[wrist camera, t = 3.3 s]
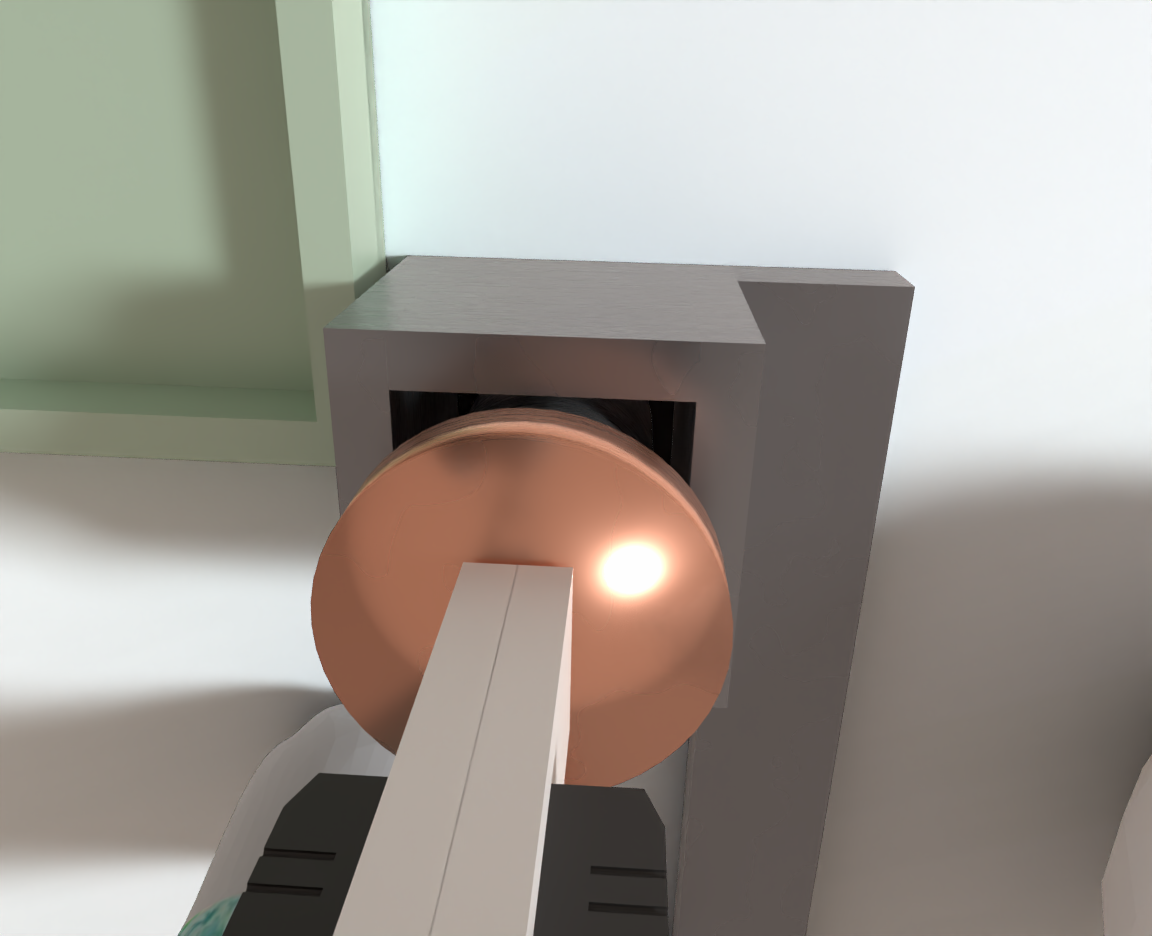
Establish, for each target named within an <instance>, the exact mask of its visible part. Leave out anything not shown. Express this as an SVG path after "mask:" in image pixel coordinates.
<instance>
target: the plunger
mask: <svg viewBox="0 0 1152 936" xmlns="http://www.w3.org/2000/svg"><path fill="white" fill-rule="evenodd" d="M463 562H470V563H491V564H511V565H532V566H553V567H573V594H572V640H571V686H570V730H569V740H568V750H567V759H566V769H565V779H564V784H568V785H585V786H602V787H611V786H615V785H618V784H620V783H622V782H625V781H627V780H629V779H631V778H634V777H636V776H638V775H640V774H642V773H644V772H645V771H647V770H649V769H650V768H652V767H654V766H655V765H657V764H659V763H660V762H662V761H663V760H664V759H666V758H667V757H668V756H669V755H671V754H672V753H673V752H674V751H676V750H677V749H678V748H680V747H681V746H682V745H683V744H684V742H685V741H686V740H687V739H688V738H689V737H690V736H691V735H692V734H693V733H694V732H695V731H696V730H697V729H698V727H699V726H700V725H701V723H702V722H703V720H704V719H705V718H706V716H707V715H708V714H709V712H710V711H711V709H712V707H713V705H714V703H715V701H716V699H717V697H718V696H719V694H720V692H721V689H722V686H723V683H724V680H725V678H726V675H727V672H728V669H729V663H730V658H731V652H732V647H733V618H732V610H731V602H730V596H729V590H728V584H727V578H726V573H725V567H724V561H723V556H722V552H721V549H720V545H719V542H718V538H717V535H716V532H715V530H714V528H713V526H712V523H711V521H710V519H709V517H708V515H707V512H706V511H705V509H704V507H703V506H702V504H701V503H700V501H699V500H698V498H697V497H696V495H695V493H694V492H693V490H692V489H691V488H690V487H689V486H688V485H687V483H686V482H685V481H684V480H683V479H682V478H681V476H680V475H679V474H678V473H677V472H676V471H675V470H674V469H673V468H672V467H671V466H670V465H668V464H667V463H666V462H665V461H664V460H663V459H662V458H661V457H659V456H658V455H657V454H656V453H654V449H653V425H652V414H651V408H650V405H649V402H648V400H630V399H605V398H579V397H554V396H528V395H503V394H478V395H477V397H476V399H475V401H474V403H473V405H472V407H471V409H470V412H469V414H467V415H463V416H460V417H456V418H453V419H449V420H447V421H444V422H442V423H440V424H437V425H435V426H433V427H430V428H428V429H426V430H424V431H422V432H420V433H419V434H417V435H416V436H414V437H412V438H411V439H409V440H407V441H406V442H404V443H402V444H401V445H400V446H399V447H398V448H396V449H395V450H394V451H393V452H391V453H390V454H389V455H388V456H387V457H385V458H384V459H383V460H382V461H381V462H380V463H379V465H378V466H377V467H376V468H375V469H374V470H373V471H372V472H371V473H370V474H369V476H368V477H367V478H366V480H365V481H364V483H363V484H362V486H361V487H360V489H359V490H358V492H357V493H356V495H355V496H354V498H353V499H352V501H351V502H350V504H349V505H348V507H347V508H346V510H345V512H344V513H343V515H342V516H341V518H340V519H339V521H338V522H337V524H336V525H335V527H334V529H333V530H332V532H331V533H330V535H329V537H328V539H327V542H326V544H325V546H324V548H323V550H322V552H321V555H320V557H319V561H318V565H317V568H316V572H315V575H314V579H313V587H312V596H311V621H312V630H313V635H314V640H315V646H316V650H317V652H318V655H319V658H320V661H321V664H322V667H323V670H324V672H325V674H326V676H327V678H328V680H329V682H330V684H331V686H332V688H333V690H334V692H335V693H336V695H337V696H338V698H339V699H340V701H341V702H342V704H343V705H344V707H345V708H346V710H347V711H348V712H349V713H350V714H351V716H352V717H353V718H354V719H355V720H356V721H357V722H358V724H359V725H360V726H361V727H362V728H363V729H364V730H365V731H366V732H367V733H368V734H369V735H370V736H371V737H372V738H374V739H375V740H376V741H377V742H378V743H379V744H380V745H381V746H383V747H384V748H385V749H387V750H388V751H390V752H391V753H392V754H394V755H395V756H396V753H397V750H398V748H399V745H400V742H401V739H402V736H403V733H404V730H405V727H406V725H407V722H408V719H409V716H410V713H411V710H412V707H413V705H414V702H415V699H416V696H417V693H418V690H419V687H420V684H421V682H422V679H423V676H424V673H425V670H426V667H427V664H428V662H429V659H430V656H431V653H432V650H433V647H434V644H435V641H436V639H437V636H438V633H439V630H440V627H441V624H442V621H443V619H444V616H445V613H446V610H447V607H448V604H449V601H450V599H451V596H452V593H453V590H454V587H455V584H456V581H457V578H458V576H459V573H460V570H461V567H462V564H463Z"/></svg>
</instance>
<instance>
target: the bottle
mask: <svg viewBox="0 0 1152 936" xmlns="http://www.w3.org/2000/svg"><path fill="white" fill-rule="evenodd" d="M394 759H395V755H394V754H392V753H391V752H390V751H388V750H387V749H385V748H384V747H383V746H381V745H380V744H379V743H378V742H377V741H376V740H375V739H374V738H372V737H371V736H370V735H369V734H368V733H367V732H366V731H365V730H364V729H363V728H362V727H361V726H360V725H359V724H358V722H357V721H356V720H355V719H354V718H353V717H352V716H351V714H350V713H349V712H348V711H347V710H346V708H345V707H344V705H343V704H339V705H335V706H332V707H329V708H326V709H325V710H323V711H322V712H320V713H318V714H317V715H315V716H314V717H313V718H312V719H311V720H310V721H309V722H308V723H306V724H305V725H304V726H303V727H302V728H301V729H300V730H299V731H298V732H297V733H295V734H294V735H293V736H292V737H290V738H288V739H286V740H285V741H283V742H281V743H280V744H278V745H277V746H276V747H275V748H274V749H273V750H272V751H271V752H270V753H269V754H268V755H267V756H266V757H265V758H264V760H263V761H262V763H261V764H260V766H259V767H258V769H257V770H256V771H255V773H254V774H253V776H252V778H251V780H250V781H249V783H248V785H247V787H246V789H245V790H244V792H243V794H242V796H241V798H240V800H239V802H238V804H237V807H236V809H235V811H234V813H233V815H232V817H231V819H230V822H229V824H228V826H227V828H226V830H225V832H224V834H223V837H222V839H221V841H220V844H219V846H218V849H217V851H216V853H215V856H214V858H213V860H212V863H211V865H210V867H209V870H208V872H207V874H206V877H205V879H204V881H203V884H202V886H201V889H200V891H199V893H198V896H197V898H196V900H195V902H194V905H193V907H192V909H191V911H190V913H189V915H188V917H187V919H186V921H185V924H184V925H183V927H182V929H181V931H180V932H179V934H178V936H222V935H223V932H224V930H225V928H226V926H227V924H228V922H229V920H230V918H231V916H232V914H233V911H234V909H235V907H236V905H237V903H238V901H239V899H240V897H241V895H242V893H243V892H246V889H247V882H248V880H249V878H250V876H251V874H252V871H253V869H254V867H255V865H256V863H257V861H258V859H259V857H260V856H263V852H264V846H265V844H266V842H267V840H268V838H269V836H270V834H271V832H272V829H273V827H274V825H275V823H276V821H277V819H278V817H279V815H280V813H281V811H282V808H283V807H284V806H285V805H286V804H287V803H288V802H289V801H290V800H291V799H292V798H293V797H294V796H295V795H296V794H297V793H298V792H299V791H300V790H301V789H302V788H303V787H304V786H305V785H307V784H308V783H309V782H310V781H311V780H312V779H313V778H314V777H315V776H316V775H317V774H318V773H332V774H349V775H366V776H383V777H388V776H389V773H390V770H391V768H392V765H393V762H394Z"/></svg>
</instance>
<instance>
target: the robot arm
mask: <svg viewBox="0 0 1152 936" xmlns="http://www.w3.org/2000/svg"><path fill="white" fill-rule="evenodd" d="M572 594H573V567H553V566H532V565H511V564H491V563H470V562H463V564H462V567H461V570H460V573H459V576H458V578H457V581H456V584H455V587H454V590H453V593H452V596H451V599H450V601H449V604H448V607H447V610H446V613H445V616H444V619H443V621H442V624H441V627H440V630H439V633H438V636H437V639H436V641H435V644H434V647H433V650H432V653H431V656H430V659H429V662H428V664H427V667H426V670H425V673H424V676H423V679H422V682H421V684H420V687H419V690H418V693H417V696H416V699H415V702H414V705H413V707H412V710H411V713H410V716H409V719H408V722H407V725H406V727H405V730H404V733H403V736H402V739H401V742H400V745H399V748H398V750H397V753H396V756H395V759H394V762H393V765H392V768H391V770H390V773H389V776H388V777H383V776H366V775H349V774H332V773H318V774H317V775H316V776H315V777H314V778H313V779H312V780H311V781H310V782H309V783H308V784H307V785H305V786H304V787H303V788H302V789H301V790H300V791H299V792H298V793H297V794H296V795H295V796H294V797H293V798H292V799H291V800H290V801H289V802H288V803H287V804H286V805H285V806H284V807H283V808H282V811H281V813H280V815H279V817H278V819H277V821H276V823H275V825H274V827H273V829H272V832H271V834H270V836H269V838H268V840H267V842H266V844H265V846H264V852H263V856H260V857H259V859H258V861H257V863H256V865H255V867H254V869H253V871H252V874H251V876H250V878H249V880H248V882H247V889H246V892H243V893H242V895H241V897H240V899H239V901H238V903H237V905H236V907H235V909H234V911H233V914H232V916H231V918H230V920H229V922H228V924H227V926H226V928H225V930H224V932H223V935H222V936H669V928H668V900H667V879H666V845H665V826H664V824H663V823H662V821H661V819H660V817H659V815H658V814H657V812H656V810H655V808H654V806H653V804H652V803H651V801H650V799H649V797H648V795H647V794H646V792H645V790H644V789H636V788H619V787H602V786H585V785H568V784H564V779H565V769H566V759H567V750H568V740H569V730H570V686H571V640H572Z"/></svg>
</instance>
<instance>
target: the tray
mask: <svg viewBox="0 0 1152 936" xmlns="http://www.w3.org/2000/svg"><path fill="white" fill-rule="evenodd" d="M386 274H387V272H386V256H385V240H384V224H383V208H382V192H381V176H380V160H379V144H378V128H377V112H376V96H375V80H374V64H373V48H372V32H371V16H370V0H0V452H9V453H32V454H55V455H78V456H101V457H124V458H147V459H170V460H194V461H217V462H240V463H263V464H286V465H309V466H332V467H336V464H335V453H334V443H333V432H332V421H331V410H330V399H329V389H328V378H327V367H326V356H325V345H324V334H323V328H324V327H325V326H326V325H327V324H328V323H329V322H331V321H332V320H333V319H334V318H335V317H336V316H338V315H339V314H340V313H341V312H342V311H343V310H345V309H346V308H347V307H348V306H349V305H351V304H352V303H353V302H354V301H355V300H356V299H358V298H359V297H360V296H361V295H362V294H363V293H365V292H366V291H367V290H368V289H369V288H370V287H372V286H373V285H374V284H375V283H376V282H378V281H379V280H380V279H381V278H382V277H383V276H385V275H386Z"/></svg>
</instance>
